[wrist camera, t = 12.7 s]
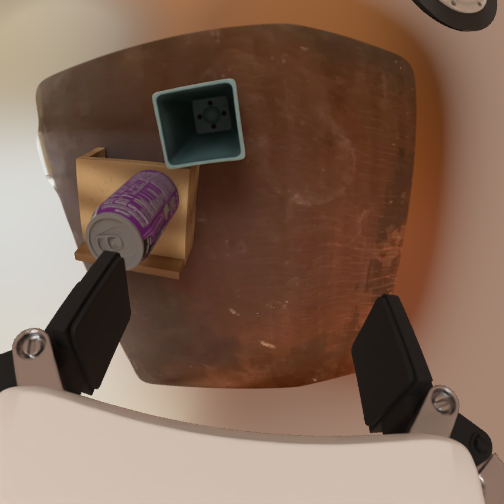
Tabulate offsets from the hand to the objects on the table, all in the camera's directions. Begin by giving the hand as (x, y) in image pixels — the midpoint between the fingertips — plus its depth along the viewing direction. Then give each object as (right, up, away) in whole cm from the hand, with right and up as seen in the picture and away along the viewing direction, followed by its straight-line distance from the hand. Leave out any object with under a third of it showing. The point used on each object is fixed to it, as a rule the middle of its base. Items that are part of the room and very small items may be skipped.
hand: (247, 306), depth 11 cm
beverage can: (-12, +9, +26) cm, 30 cm away
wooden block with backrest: (-16, +10, +32) cm, 38 cm away
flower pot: (-5, +20, +26) cm, 33 cm away
